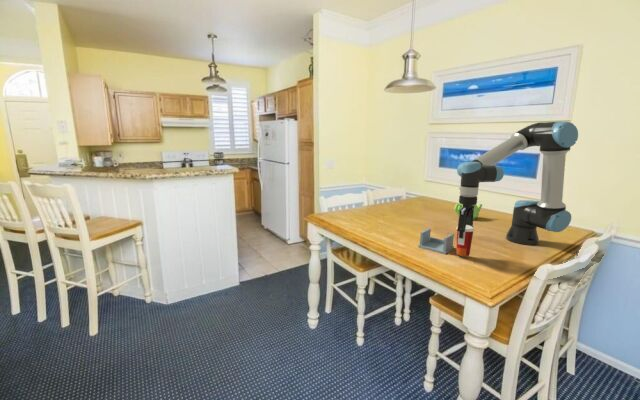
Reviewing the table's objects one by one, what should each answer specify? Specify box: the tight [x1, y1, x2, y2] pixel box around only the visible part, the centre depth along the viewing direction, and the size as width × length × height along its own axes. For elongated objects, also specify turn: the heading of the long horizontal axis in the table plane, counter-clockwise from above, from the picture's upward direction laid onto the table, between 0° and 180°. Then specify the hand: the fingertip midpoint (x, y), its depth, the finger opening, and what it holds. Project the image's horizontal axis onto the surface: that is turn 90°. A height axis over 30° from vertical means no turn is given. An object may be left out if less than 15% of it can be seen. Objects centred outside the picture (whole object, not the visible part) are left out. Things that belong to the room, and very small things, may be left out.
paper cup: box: [455, 225, 475, 258], centre depth 143 cm, size 8×8×14 cm
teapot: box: [453, 203, 483, 221], centre depth 214 cm, size 20×13×13 cm
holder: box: [417, 227, 455, 255], centre depth 156 cm, size 14×12×8 cm
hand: (463, 242), depth 143 cm, fingers closed on paper cup, 8 cm apart
